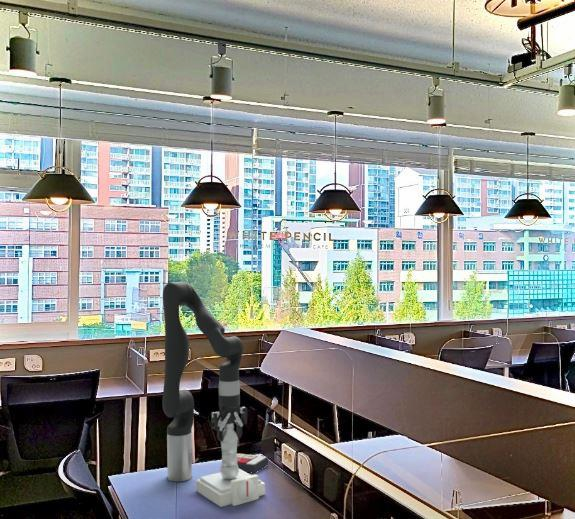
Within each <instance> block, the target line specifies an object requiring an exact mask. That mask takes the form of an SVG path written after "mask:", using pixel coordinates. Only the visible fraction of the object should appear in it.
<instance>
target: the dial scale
mask: <svg viewBox="0 0 575 519" xmlns="http://www.w3.org/2000/svg"><path fill="white" fill-rule="evenodd" d="M259 478H260V477H259V475H258V474H257V473H256V474H251V473H247V472H245V471H243V470H241V469H239V474H238V476H237V478H235V479H231V480H226V479H223V478H222V476H221V471H219V472H216V473H212V474H207V475H203V476H200V477H199V478H198V479H196V482H195V483H196V485H195V488H196V489H195V490H196V492H197V493H198V494H200V495H202V496H204V497H205V498H206V499H208V500H209V501H211V502H212V503H214V504H215V505H217V506H219V507H226V506H230V505H231V506H234V507H235V506H238V505H242V504H246V503H249V502H253V501H256V500H260V499H259V498H260V497H261V496H265V495H266V483H265V482H263V481H262V480H261V479H259Z"/></svg>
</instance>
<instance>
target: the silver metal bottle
mask: <svg viewBox="0 0 575 519" xmlns="http://www.w3.org/2000/svg"><path fill="white" fill-rule="evenodd" d="M222 431H223V441H220V446H221V467H220V472H221V476H222V478H223V479H226V480H231V479H235V478H237V476H238V474H239V468H238V464H237V454H238V453H237V452H238V450H237V449H238V442H239V441H238V440H239V437H238V436H237V433H236V431H235V421H230V422H227V423H226V425H224V427H223V430H222Z"/></svg>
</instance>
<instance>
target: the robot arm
mask: <svg viewBox="0 0 575 519" xmlns="http://www.w3.org/2000/svg"><path fill="white" fill-rule="evenodd" d="M197 292H198V291H196V289H195V287H193V285H192V284H191V283H190V282H188V281H187V282H186V281H173V282H172V281H171V282H168V283H166V284H165V285H164V287H163V291H162V304H163V315H164V316H163V317H164V381H163V390H162V401H161V402H162V410H163V412H164V414H165V415H166V417H168V418H173V419H172V421H171V422H170V423H169V424H168V425H167V427H166V428H167V429H166V435H167V436H166V441H167V442H166V443H167V444H166V445H167V446H166V448H167V451H166V452H167V454H166V456H167V459H166V460H167V464H166V465H167V480H168V481H170V482H185V481H188V480H190V479H192V478H193V472H192V471H193V467H192V466H193V463H192V462H193V459H192V458H193V457H192V456H193V453H192V451H193V449H192V446H193V444H192V441H193V440H192V430H193V429H192V427H193V426H194V419H195V418H194V417H195V416H194V414H195V401H194V396H193V395H192V393H191V392H190V391H189V390H187V389H180V386H181V385H180V383H181V379H182V376H183V373H184V371H185V369H186V367H187V364H188V362H189V358H190V339H189V335H188V334H187V331H186V330H185V328H184V327H183V324H182V323H181V319H180V307H183V306H185V307H187V308H189V310H191V311H192V313H193V315H194V318H195V324H196V326H197V327H198V329H199V331H200V332H201V333H202V334H203V335H204V336H205V337H206V338H207V339H208V341H209V344H210V346H211V347H212V350H213V352H214V353H215V354H216V355H217V356H218V357H220V358H226V359H225V362H223V363H221V365H219V368H218V369H219V370H218V372H219V373H218V377H219V382H218V408H219V409H218V411H215V412H214V411H211V412H210V418H211V419H210V420H211V422H210V423H211V429H213V430H214V431H216V439H217V440H218V441H219V442H221V441H223V431H224V425H226V423H227V422H230V421H231V422H234V424H236V428H235V429H236V431H235V432H236V433H237V436H238V438H241V437H242V436H243V426H244V425H247V424H248V407H245V406H240V405H241V395H240V394H241V393H240V392H241V390H240V386H241V385H240V365H241V361H242V358H243V351H244V350H243V349H244V346H243V341H242V339H240V337H238V336H226V337H225V336H224V335H225V332H226V331H225V328H224V325H222V324H221V322H220V321H218V319H217V318H215V316H214V315H213V314H212V313H211V312H210V310H209V309H208V308H207V306H206V305H205V303H204V302H203V300H202V298H201V297H200V296H199V294H198V293H197ZM239 415H240V416H239ZM218 418H219V419H218Z"/></svg>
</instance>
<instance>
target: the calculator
mask: <svg viewBox="0 0 575 519" xmlns="http://www.w3.org/2000/svg"><path fill="white" fill-rule="evenodd" d="M237 464H238V468H239V469H241V470H243V471H245V472H252V473H256V472H257V471H259V470H261V469H262V468H264V467H265V466H266V465H268V466H269V458H268V457H267V456H262V455H257V454H245V453H237ZM264 469H265V468H264ZM262 470H263V469H262ZM262 470H261V471H262ZM259 472H260V471H259ZM252 473H251V474H252ZM256 474H257V473H256Z"/></svg>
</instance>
